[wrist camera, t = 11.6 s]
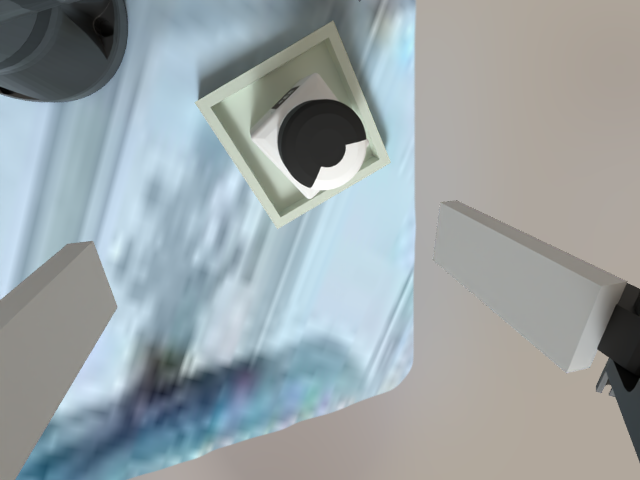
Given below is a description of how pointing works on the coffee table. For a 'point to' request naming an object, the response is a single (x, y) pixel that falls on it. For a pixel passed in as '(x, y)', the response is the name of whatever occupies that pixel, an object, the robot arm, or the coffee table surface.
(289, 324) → the coffee table surface
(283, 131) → the container
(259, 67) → the parts tray
